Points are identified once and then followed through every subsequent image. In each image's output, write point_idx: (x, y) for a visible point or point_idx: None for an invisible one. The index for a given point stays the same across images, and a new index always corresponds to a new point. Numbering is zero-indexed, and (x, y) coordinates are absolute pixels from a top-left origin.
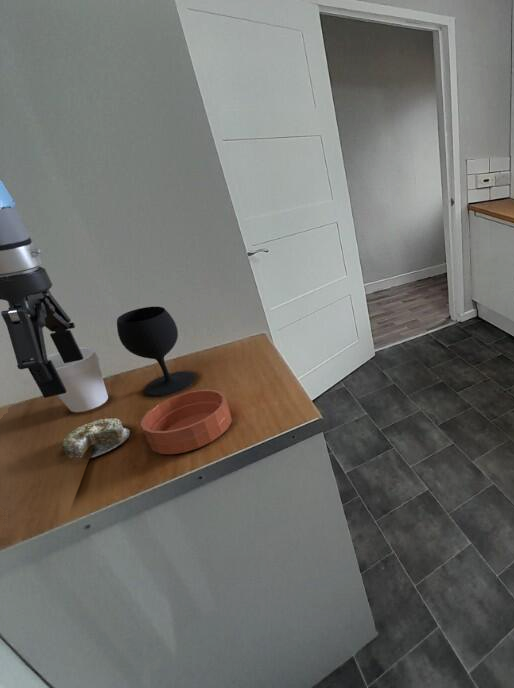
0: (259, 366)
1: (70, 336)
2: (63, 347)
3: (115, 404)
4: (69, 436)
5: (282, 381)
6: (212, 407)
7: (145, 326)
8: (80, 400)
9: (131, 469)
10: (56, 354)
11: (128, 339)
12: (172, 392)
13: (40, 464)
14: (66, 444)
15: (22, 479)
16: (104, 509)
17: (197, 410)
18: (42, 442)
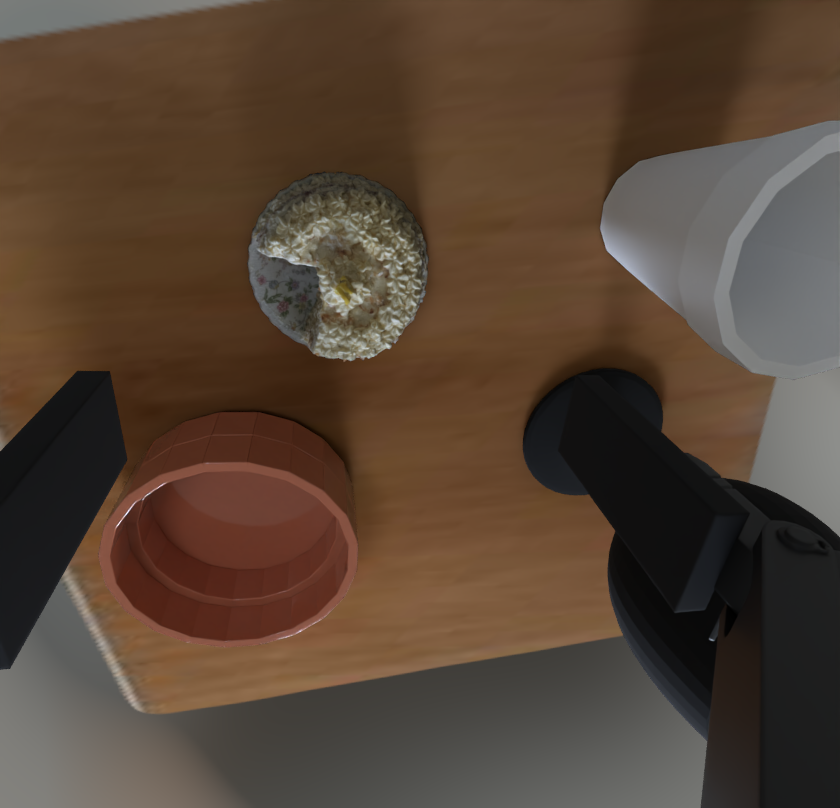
0: (516, 622)
1: (648, 569)
2: (625, 463)
3: (590, 290)
4: (352, 215)
5: (386, 665)
6: (313, 560)
7: (681, 684)
8: (626, 220)
9: (124, 368)
10: None
11: None
12: (526, 444)
13: (323, 97)
14: (301, 210)
15: (251, 48)
16: None
17: (333, 522)
18: (487, 81)
